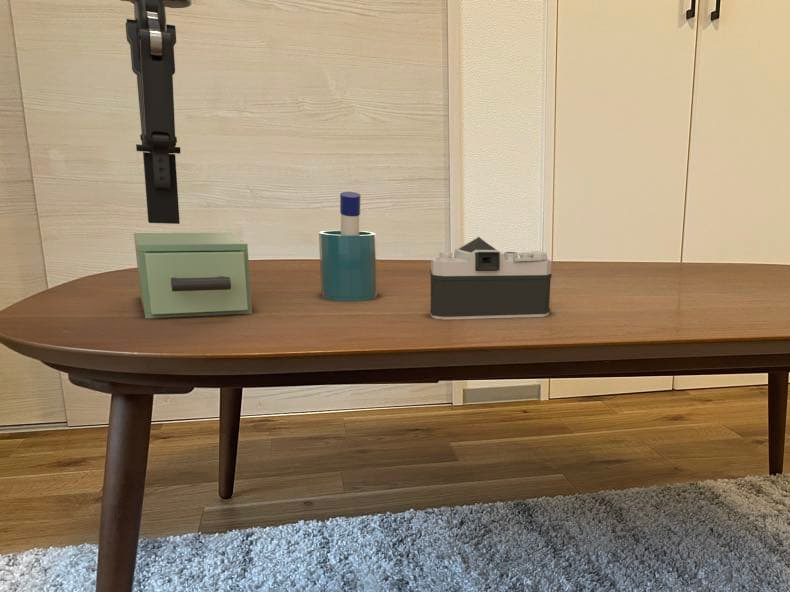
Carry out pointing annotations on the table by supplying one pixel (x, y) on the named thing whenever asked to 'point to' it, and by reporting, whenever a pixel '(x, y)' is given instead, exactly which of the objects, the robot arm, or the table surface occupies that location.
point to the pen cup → (348, 266)
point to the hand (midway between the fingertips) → (163, 222)
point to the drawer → (196, 281)
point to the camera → (489, 283)
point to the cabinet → (186, 243)
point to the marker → (350, 213)
